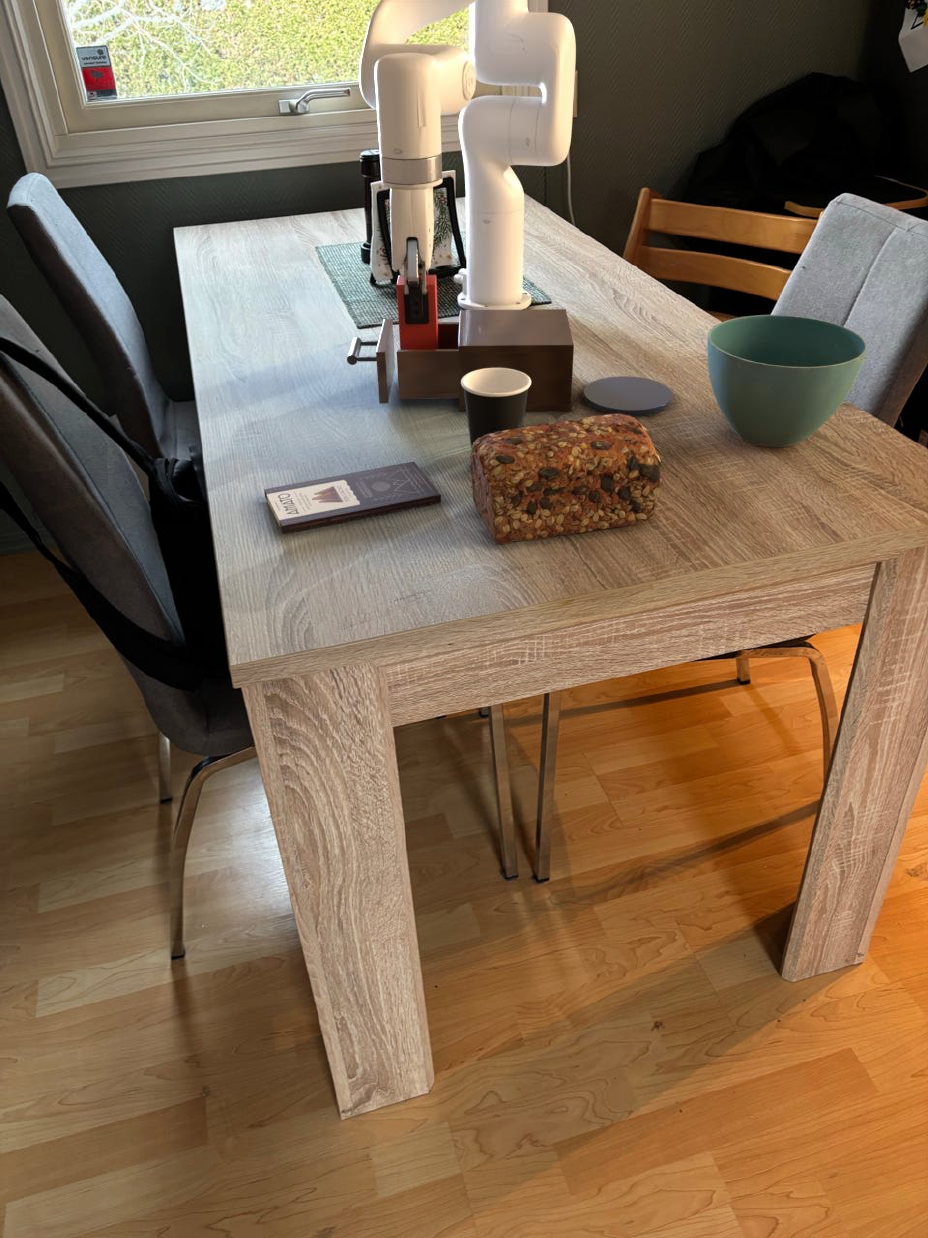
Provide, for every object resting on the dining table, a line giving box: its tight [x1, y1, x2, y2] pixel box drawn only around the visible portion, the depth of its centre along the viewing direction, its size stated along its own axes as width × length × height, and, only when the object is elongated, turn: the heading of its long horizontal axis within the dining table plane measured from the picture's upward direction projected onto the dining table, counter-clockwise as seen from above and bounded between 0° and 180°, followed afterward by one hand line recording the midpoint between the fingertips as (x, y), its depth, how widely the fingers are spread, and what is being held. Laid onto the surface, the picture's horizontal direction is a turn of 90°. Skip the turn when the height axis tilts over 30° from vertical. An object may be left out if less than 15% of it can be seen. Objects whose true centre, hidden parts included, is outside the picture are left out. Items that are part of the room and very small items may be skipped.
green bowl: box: [706, 314, 868, 448], centre depth 120 cm, size 18×18×12 cm
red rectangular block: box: [396, 274, 439, 350], centre depth 131 cm, size 5×4×10 cm
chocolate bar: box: [263, 461, 442, 534], centre depth 110 cm, size 9×1×18 cm
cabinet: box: [458, 308, 575, 413], centre depth 133 cm, size 15×14×9 cm
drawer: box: [346, 318, 460, 405], centre depth 134 cm, size 18×13×7 cm
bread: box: [469, 413, 664, 545], centre depth 104 cm, size 19×11×10 cm, turn 103°
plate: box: [583, 375, 674, 417], centre depth 133 cm, size 12×12×1 cm
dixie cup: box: [461, 368, 531, 449], centre depth 113 cm, size 8×8×11 cm
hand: (418, 315), depth 130 cm, fingers closed on red rectangular block, 4 cm apart
